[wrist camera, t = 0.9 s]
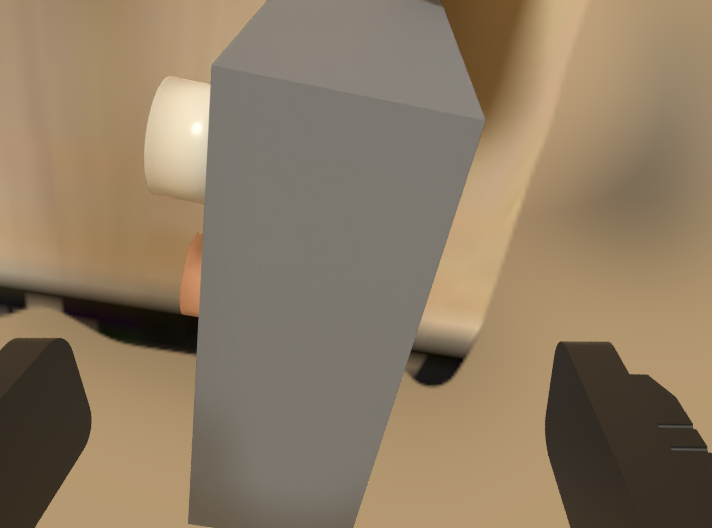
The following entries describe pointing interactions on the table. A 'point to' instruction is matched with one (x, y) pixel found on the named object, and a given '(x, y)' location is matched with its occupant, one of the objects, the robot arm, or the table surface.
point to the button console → (319, 248)
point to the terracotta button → (192, 279)
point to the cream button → (178, 140)
